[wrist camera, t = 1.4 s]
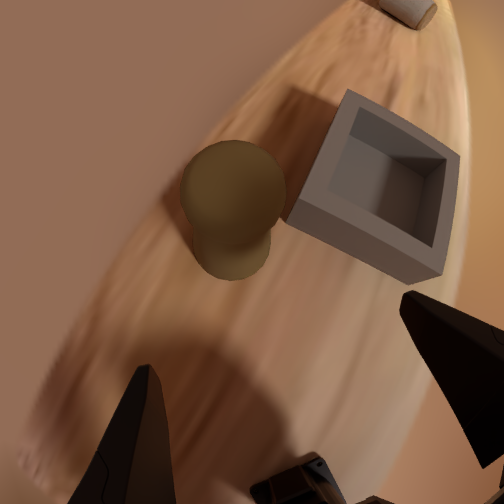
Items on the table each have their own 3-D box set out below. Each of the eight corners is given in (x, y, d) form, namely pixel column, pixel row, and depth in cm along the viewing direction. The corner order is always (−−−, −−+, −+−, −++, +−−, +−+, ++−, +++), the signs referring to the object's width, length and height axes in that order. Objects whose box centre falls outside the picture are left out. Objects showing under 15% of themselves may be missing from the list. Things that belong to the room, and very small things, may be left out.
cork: (190, 279, 23) (157, 238, 12) (195, 204, 24) (175, 120, 14) (270, 281, 23) (304, 243, 13) (270, 207, 25) (298, 125, 14)
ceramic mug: (415, 37, 34) (434, 5, 27) (373, 10, 35) (388, -23, 27) (431, 25, 37) (447, -2, 29) (394, 1, 37) (408, -26, 30)
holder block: (407, 285, 24) (442, 275, 19) (285, 222, 25) (298, 197, 20) (432, 178, 27) (460, 155, 22) (331, 121, 27) (347, 88, 23)
